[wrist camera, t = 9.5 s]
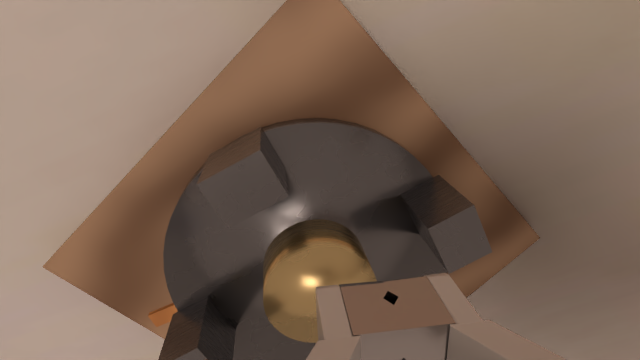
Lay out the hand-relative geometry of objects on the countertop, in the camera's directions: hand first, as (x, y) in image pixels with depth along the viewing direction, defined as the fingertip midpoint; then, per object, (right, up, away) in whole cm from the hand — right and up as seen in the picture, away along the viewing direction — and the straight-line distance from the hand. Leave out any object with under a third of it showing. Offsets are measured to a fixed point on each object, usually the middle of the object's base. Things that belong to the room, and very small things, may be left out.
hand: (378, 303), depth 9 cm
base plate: (-2, -1, +17) cm, 17 cm away
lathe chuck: (-2, -2, +15) cm, 15 cm away
